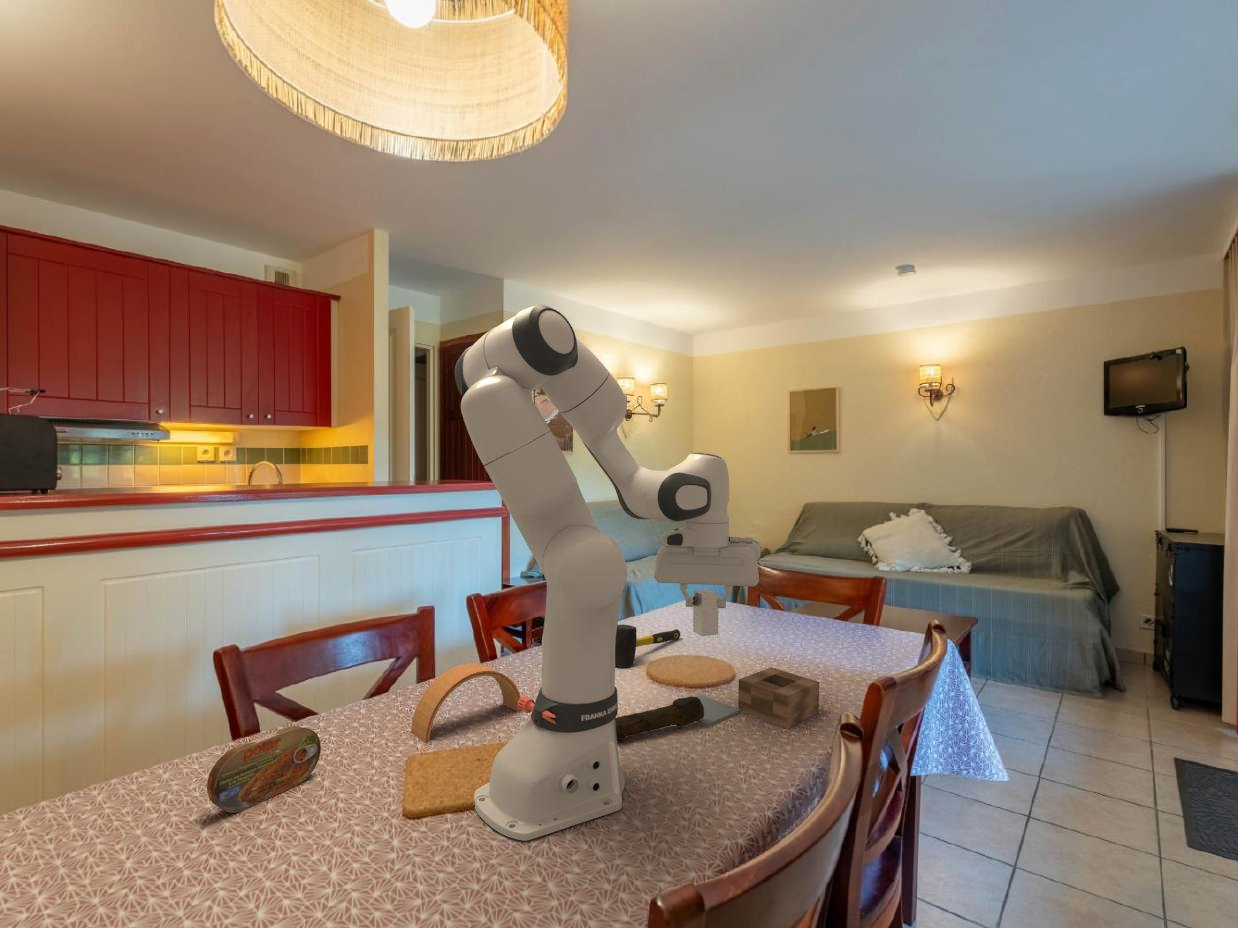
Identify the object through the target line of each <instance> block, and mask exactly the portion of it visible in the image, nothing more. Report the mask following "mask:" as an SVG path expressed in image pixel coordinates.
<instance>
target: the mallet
mask: <svg viewBox="0 0 1238 928" xmlns="http://www.w3.org/2000/svg"><path fill="white" fill-rule="evenodd" d="M680 637H681V632H680V629H678V628H676V629H674V630H667V631H661V632H656V633H654V634H653V633H652V634H650V635H647V636H642V637H639V638H638V637H637V627H636V626H634V625H630V624H617V631H616V641H615V667H622V668H623V667H624V668H629V667H630V668H631V667H632V666H634V663H635V659H636V651H637V648H638V647H642V646H649V645H654V644H662V643H667V642H670V641H677V640H680Z"/></svg>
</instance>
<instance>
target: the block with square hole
mask: <svg viewBox="0 0 1238 928" xmlns="http://www.w3.org/2000/svg"><path fill="white" fill-rule="evenodd" d="M737 691H738V693H737V694H738V696H737V697H738V701H737V702H738V705H737V708H738V709H741V712H743V713H746V714H748V715H750V716H753V717H756V718H758V719H760V720H763V721H765V722H769V723H771V724H774V725H776V726H779V727H780V728H784V729H785V730H787V729H789V728H792V727H793V726H796V725H798V724H799V723H802V722H803V721H806V720H807V719H810V718H811V717H813V716H815V715H817V714H819V713H820V681H817V680H814V679H811V678H807V677H805V676H801V675H797V674H796V673H795V674H794V673H792V672H789V671H785V670H781V669H779V668H776V667H773V666H770V667H768V668H765V669H763V670H759V671H757V672H754V673H752V674H749V675H747V676H744V677H741V678H739V679H738V690H737Z"/></svg>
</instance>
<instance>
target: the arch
mask: <svg viewBox="0 0 1238 928" xmlns="http://www.w3.org/2000/svg"><path fill="white" fill-rule="evenodd" d="M479 677H492V678H493V679H494V680H495V681H496V683H497V684H498V686H499V688H500V691H501V695H502V704H503V705H504V706H506V707H508V708H509V709H511V710H513V711H516V712H523V710H521V709H519V708H518V706H519V705H517V704H518V703H519V702H518V701H519V700H520V697H522V695H521V694H520V691H519V689H518V687H517V685H516V684H515V682H514V681H513V680H512V679H510V678H509V676H507V675H505V674H503V673H501V672H500V671H498V670H497V669H496V670H495V669H494V668H491V667H489V666H488V665H485V664H481V663H476V662H475V663H474V662H470V663H463V664H460V665H456V666H454V667H452V668H450V669H447V670H446V671H444V672H443V673H442V674H440V675H439V676H438V677H437V678H436V679H435V680H434V681H432V682H431V684H430V685H429V686H428V687H427V688H426V689H425V690H424V692H423V694H422V695H421V697H420V698H419V700H418V703H417V705H416V708H415V710H414V713H413V715H412V721H411V727H410V733H412V734H413V735H414V736H416V737H417V738H418V739H420V741H422V742H423V743H424V744H425V743H427V742H430V741H431V733H432V731H431V730H432V727H433V723H434V721H435V717H436V715H437V714H438V711H439V710H440V708H441V706H442V705H443V703H444V702H445V701H446V699H447V698H448V697H449V695H451V694H452V693H453V692H454V691H455V690H456V689H457V688H458V687H460V686H461V685H463V684H464V683H466V682H468V681H470V680H472V679H475V678H479Z"/></svg>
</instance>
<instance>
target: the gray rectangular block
mask: <svg viewBox="0 0 1238 928" xmlns="http://www.w3.org/2000/svg"><path fill="white" fill-rule="evenodd" d="M692 596H693V607H692V610H693V611H692V612H693V614H692V632H693V633H695V634H696V635H699V636H700V637H707V636H717V635H719V608H718V604H719V603H718V599H719V593H718V592H716V591H714V590H711V589H702V590H701V589H699V590H693V594H692Z"/></svg>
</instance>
